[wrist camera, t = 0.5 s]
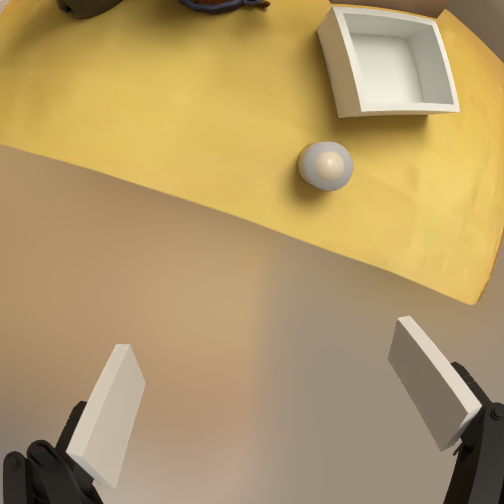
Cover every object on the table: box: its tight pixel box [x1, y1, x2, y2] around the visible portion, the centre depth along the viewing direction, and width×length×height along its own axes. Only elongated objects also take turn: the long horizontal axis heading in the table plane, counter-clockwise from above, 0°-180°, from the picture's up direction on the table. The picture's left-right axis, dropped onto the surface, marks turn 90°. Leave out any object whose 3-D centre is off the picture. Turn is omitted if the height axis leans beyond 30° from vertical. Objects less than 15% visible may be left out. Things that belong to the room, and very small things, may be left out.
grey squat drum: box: [297, 142, 353, 191], centre depth 34 cm, size 6×6×5 cm
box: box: [316, 6, 460, 118], centre depth 28 cm, size 14×16×8 cm
